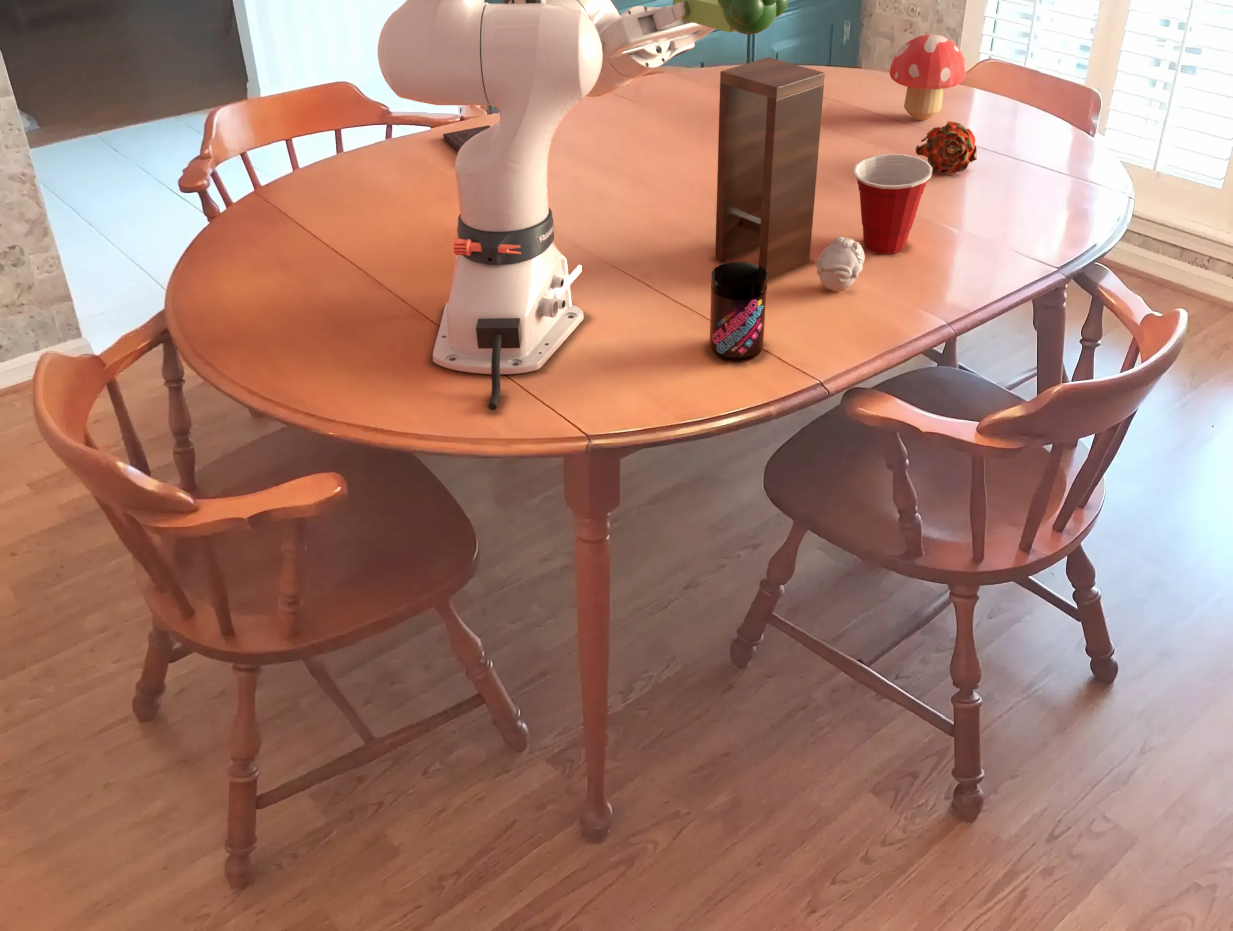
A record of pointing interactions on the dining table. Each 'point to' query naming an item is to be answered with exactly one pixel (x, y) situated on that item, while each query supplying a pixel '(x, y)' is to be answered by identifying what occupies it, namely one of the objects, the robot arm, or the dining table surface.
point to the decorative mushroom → (927, 73)
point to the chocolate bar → (462, 136)
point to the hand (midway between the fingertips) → (697, 4)
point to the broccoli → (735, 14)
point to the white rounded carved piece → (840, 264)
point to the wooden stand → (768, 162)
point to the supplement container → (737, 311)
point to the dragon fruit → (949, 148)
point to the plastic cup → (890, 198)
